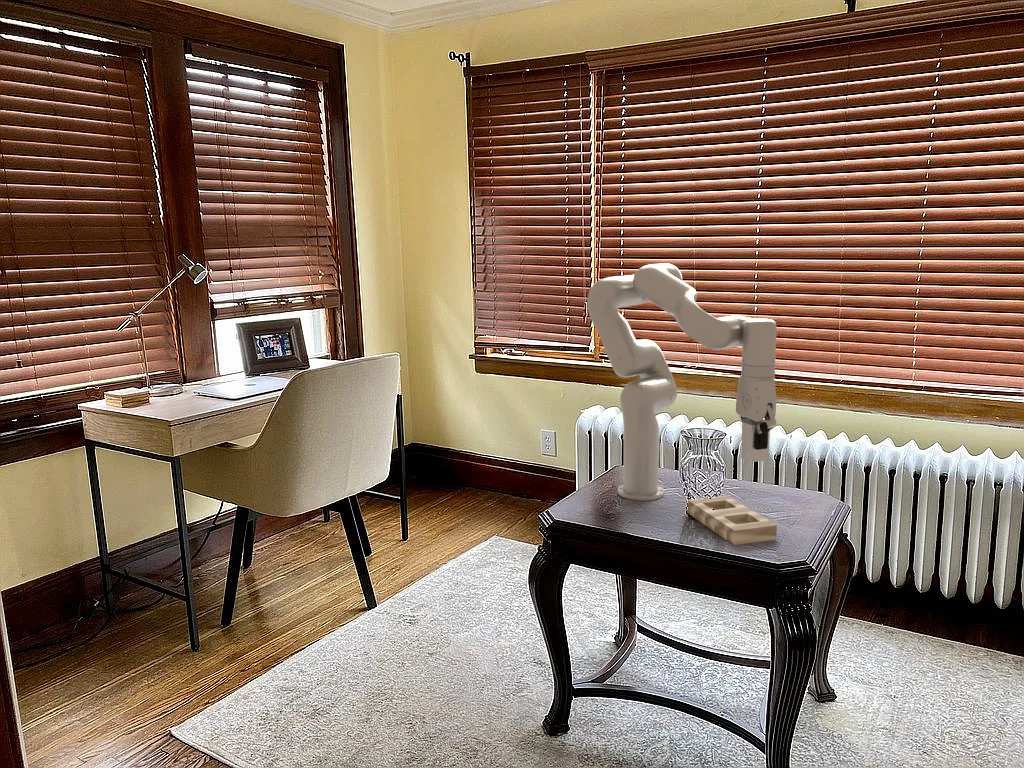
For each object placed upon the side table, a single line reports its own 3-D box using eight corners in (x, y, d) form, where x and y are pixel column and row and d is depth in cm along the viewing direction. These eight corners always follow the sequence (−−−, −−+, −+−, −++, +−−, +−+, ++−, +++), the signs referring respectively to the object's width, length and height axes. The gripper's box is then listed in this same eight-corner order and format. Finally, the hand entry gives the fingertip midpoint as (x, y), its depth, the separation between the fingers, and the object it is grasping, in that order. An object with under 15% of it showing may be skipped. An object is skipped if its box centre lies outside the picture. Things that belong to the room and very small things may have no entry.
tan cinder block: (687, 513, 203) (687, 499, 202) (726, 508, 206) (726, 495, 205) (734, 545, 182) (734, 530, 181) (776, 539, 185) (776, 524, 184)
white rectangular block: (740, 457, 194) (742, 417, 192) (758, 455, 195) (760, 415, 193) (750, 462, 190) (752, 421, 188) (768, 460, 192) (770, 419, 190)
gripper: (724, 367, 195) (722, 439, 199) (765, 378, 180) (762, 457, 183) (750, 364, 198) (748, 436, 201) (794, 376, 182) (790, 453, 185)
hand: (755, 445), depth 192 cm, fingers closed on white rectangular block, 4 cm apart
